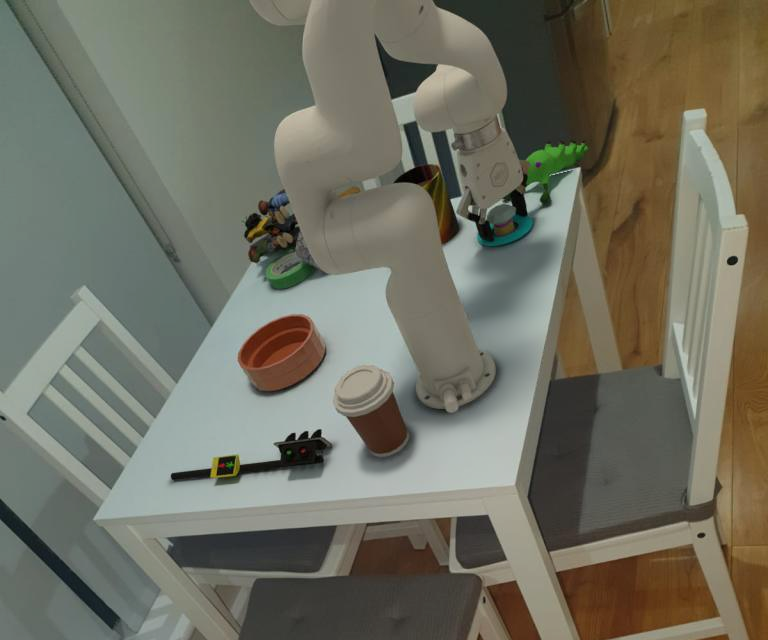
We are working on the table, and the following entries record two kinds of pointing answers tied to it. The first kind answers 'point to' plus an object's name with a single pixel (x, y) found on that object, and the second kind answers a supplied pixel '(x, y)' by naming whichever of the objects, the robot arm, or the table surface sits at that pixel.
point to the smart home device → (293, 234)
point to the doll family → (270, 226)
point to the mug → (434, 197)
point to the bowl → (281, 352)
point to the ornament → (506, 225)
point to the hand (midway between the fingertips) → (504, 226)
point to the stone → (304, 251)
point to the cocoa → (372, 409)
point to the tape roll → (291, 276)
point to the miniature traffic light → (290, 456)
